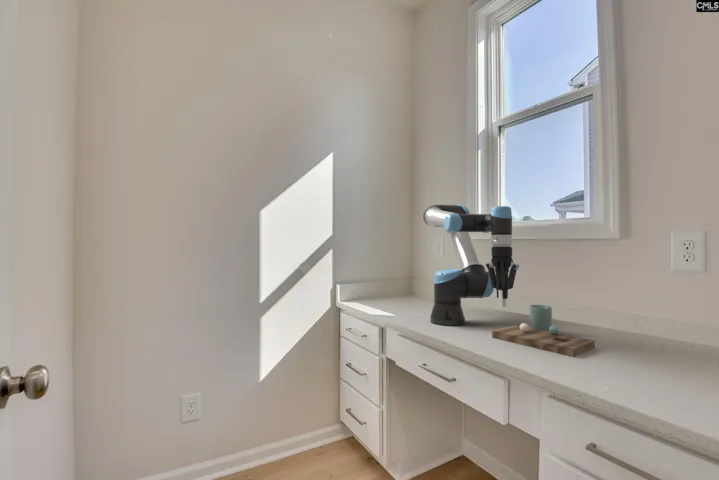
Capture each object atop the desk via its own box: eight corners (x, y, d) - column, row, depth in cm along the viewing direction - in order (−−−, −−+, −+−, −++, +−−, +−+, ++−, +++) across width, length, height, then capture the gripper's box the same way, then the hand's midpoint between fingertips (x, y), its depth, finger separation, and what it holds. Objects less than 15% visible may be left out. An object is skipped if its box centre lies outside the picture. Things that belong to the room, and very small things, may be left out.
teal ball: (547, 333, 127) (547, 325, 127) (551, 332, 129) (551, 323, 129) (556, 335, 124) (556, 326, 124) (560, 334, 126) (560, 325, 126)
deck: (492, 337, 131) (492, 330, 131) (515, 331, 141) (515, 325, 141) (573, 357, 109) (573, 348, 109) (594, 348, 118) (594, 340, 118)
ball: (517, 331, 130) (517, 323, 130) (522, 330, 132) (522, 321, 132) (526, 333, 127) (526, 324, 128) (530, 332, 129) (530, 323, 129)
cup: (554, 334, 136) (554, 308, 136) (533, 333, 138) (532, 307, 138) (548, 329, 144) (548, 305, 144) (527, 328, 145) (527, 304, 145)
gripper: (481, 246, 140) (481, 305, 140) (512, 246, 130) (512, 310, 129) (492, 246, 145) (493, 303, 144) (522, 246, 134) (523, 308, 134)
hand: (502, 306), depth 137 cm, fingers closed
